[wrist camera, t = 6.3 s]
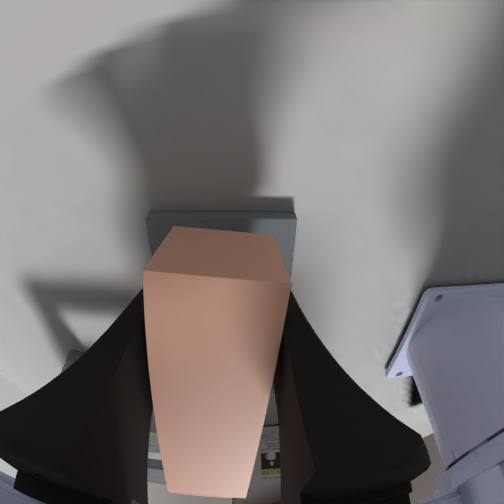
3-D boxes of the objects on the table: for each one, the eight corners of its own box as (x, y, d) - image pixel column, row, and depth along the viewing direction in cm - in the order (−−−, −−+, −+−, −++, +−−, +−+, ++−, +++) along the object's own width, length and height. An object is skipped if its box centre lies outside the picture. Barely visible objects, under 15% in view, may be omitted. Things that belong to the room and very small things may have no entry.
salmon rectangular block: (273, 235, 11) (291, 283, 7) (243, 436, 15) (245, 498, 11) (173, 225, 11) (142, 270, 7) (177, 430, 15) (168, 492, 11)
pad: (294, 212, 13) (296, 219, 12) (275, 381, 20) (275, 388, 19) (149, 212, 13) (146, 218, 12) (183, 379, 19) (182, 387, 19)
